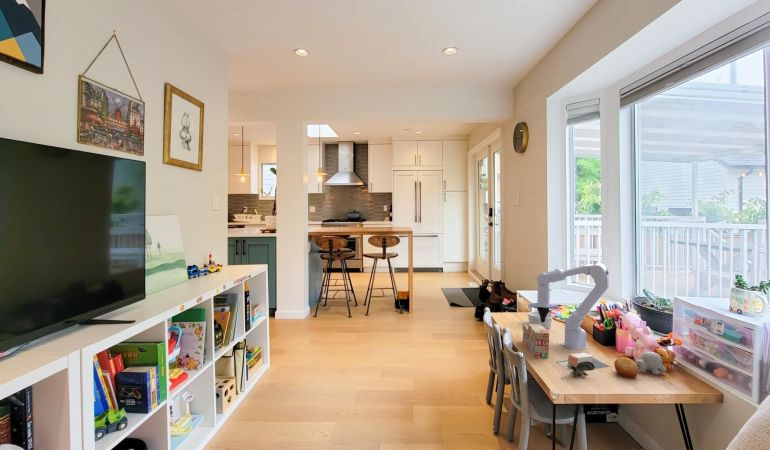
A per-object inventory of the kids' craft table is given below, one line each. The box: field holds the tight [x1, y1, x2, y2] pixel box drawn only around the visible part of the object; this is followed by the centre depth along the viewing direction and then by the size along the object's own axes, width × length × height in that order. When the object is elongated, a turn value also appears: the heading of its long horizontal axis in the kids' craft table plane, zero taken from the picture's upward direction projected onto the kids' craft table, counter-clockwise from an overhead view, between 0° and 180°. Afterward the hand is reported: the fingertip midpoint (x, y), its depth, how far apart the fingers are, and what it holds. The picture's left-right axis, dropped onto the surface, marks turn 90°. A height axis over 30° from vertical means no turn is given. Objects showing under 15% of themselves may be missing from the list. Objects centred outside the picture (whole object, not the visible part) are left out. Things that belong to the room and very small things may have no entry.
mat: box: [556, 357, 612, 372], centre depth 152 cm, size 20×10×1 cm, turn 107°
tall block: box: [567, 352, 593, 367], centre depth 152 cm, size 4×4×9 cm
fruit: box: [614, 357, 638, 378], centre depth 143 cm, size 8×8×8 cm
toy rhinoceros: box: [633, 351, 667, 376], centre depth 146 cm, size 7×12×8 cm, turn 87°
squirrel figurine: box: [567, 361, 596, 379], centre depth 141 cm, size 8×7×9 cm
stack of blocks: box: [522, 323, 550, 359], centre depth 169 cm, size 21×6×12 cm, turn 172°
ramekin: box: [527, 311, 553, 330], centre depth 206 cm, size 13×13×7 cm
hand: (542, 321), depth 183 cm, fingers closed
